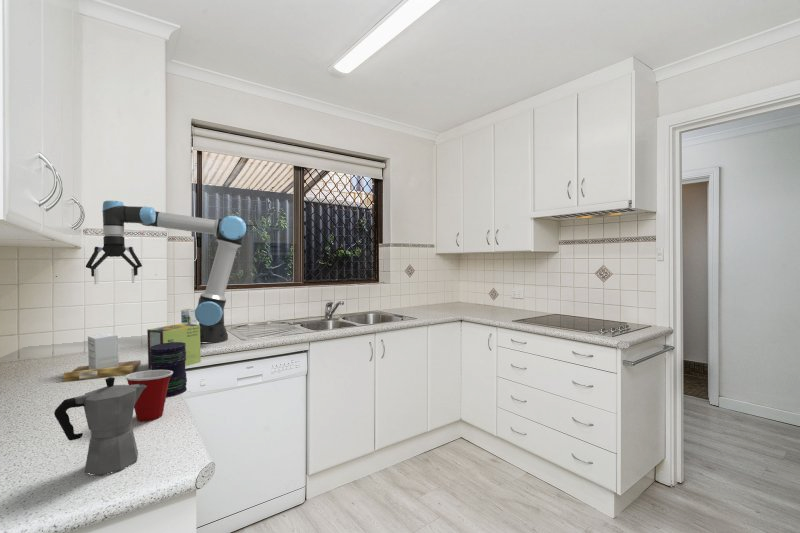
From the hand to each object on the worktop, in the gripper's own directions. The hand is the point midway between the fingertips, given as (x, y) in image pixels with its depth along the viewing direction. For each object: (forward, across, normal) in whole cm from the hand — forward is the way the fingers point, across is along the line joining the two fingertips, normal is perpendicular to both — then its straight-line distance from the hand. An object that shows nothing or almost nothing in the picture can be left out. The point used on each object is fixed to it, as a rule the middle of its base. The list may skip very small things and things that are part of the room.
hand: (115, 283), depth 172 cm
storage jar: (+32, -28, +68) cm, 80 cm away
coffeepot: (+32, -22, +113) cm, 119 cm away
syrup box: (+32, -26, -34) cm, 53 cm away
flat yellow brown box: (+32, -3, +32) cm, 45 cm away
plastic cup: (+32, -26, +88) cm, 97 cm away
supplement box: (+30, -3, +33) cm, 45 cm away
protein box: (+32, -26, +33) cm, 53 cm away
